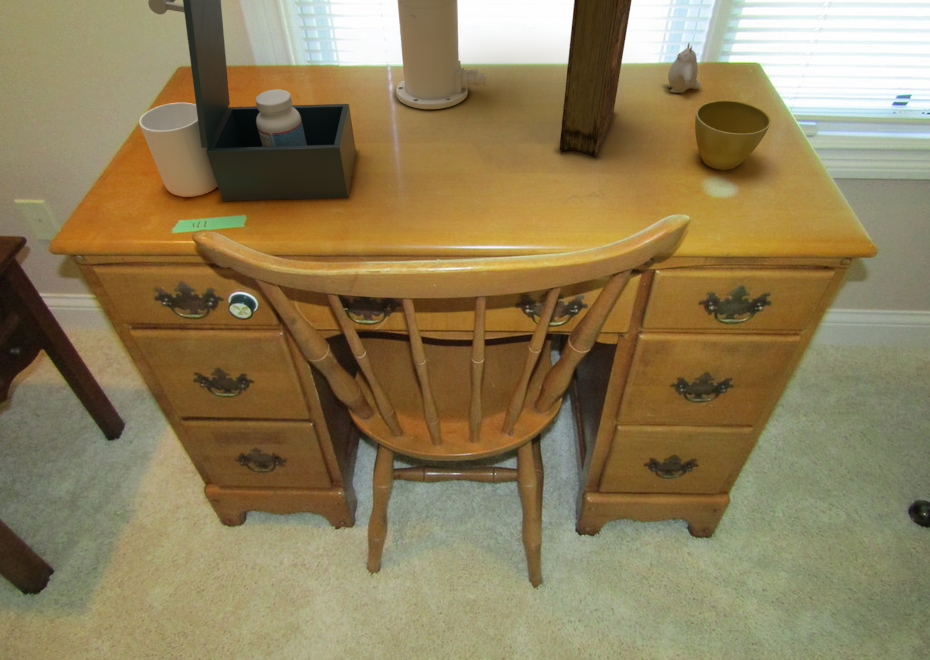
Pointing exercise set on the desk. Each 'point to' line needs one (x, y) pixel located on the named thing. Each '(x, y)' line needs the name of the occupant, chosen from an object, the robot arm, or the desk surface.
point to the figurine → (684, 72)
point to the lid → (204, 60)
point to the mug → (178, 149)
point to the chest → (284, 156)
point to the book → (593, 72)
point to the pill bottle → (278, 120)
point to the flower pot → (729, 132)
